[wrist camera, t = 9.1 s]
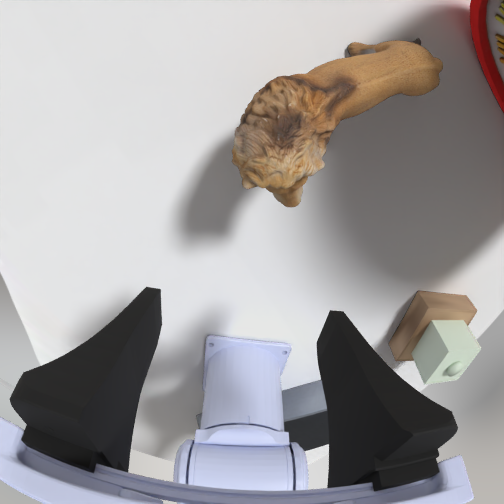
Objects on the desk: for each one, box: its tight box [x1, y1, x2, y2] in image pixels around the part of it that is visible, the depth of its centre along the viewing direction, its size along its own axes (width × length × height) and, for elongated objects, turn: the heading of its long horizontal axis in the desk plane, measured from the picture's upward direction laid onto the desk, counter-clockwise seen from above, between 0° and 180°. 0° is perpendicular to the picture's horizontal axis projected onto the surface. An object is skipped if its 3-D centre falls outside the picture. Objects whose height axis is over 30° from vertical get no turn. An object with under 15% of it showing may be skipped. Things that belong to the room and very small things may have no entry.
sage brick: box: [411, 320, 481, 385], centre depth 23 cm, size 4×4×4 cm
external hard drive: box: [196, 380, 329, 451], centre depth 35 cm, size 13×19×4 cm
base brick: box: [389, 291, 477, 361], centre depth 26 cm, size 7×7×2 cm
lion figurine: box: [232, 38, 443, 207], centre depth 13 cm, size 15×5×9 cm, turn 128°
